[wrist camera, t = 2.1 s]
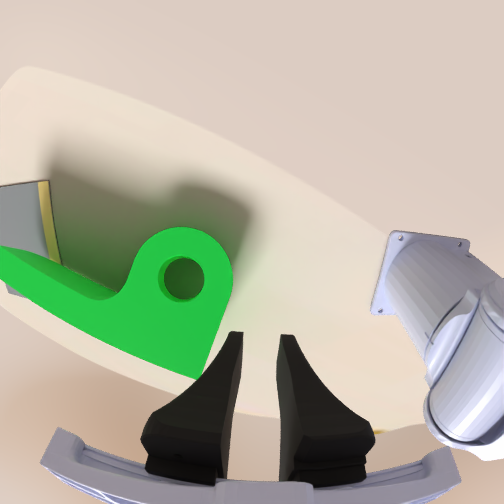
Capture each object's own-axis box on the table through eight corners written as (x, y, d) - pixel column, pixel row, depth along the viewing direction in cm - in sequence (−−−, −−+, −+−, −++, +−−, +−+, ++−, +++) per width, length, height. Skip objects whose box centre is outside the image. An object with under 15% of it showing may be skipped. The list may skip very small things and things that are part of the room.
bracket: (236, 257, 26) (248, 249, 19) (200, 353, 25) (200, 380, 18) (62, 187, 23) (28, 163, 16) (31, 274, 22) (-10, 272, 15)
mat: (49, 180, 20) (48, 180, 20) (74, 309, 25) (73, 309, 25) (-15, 189, 20) (-15, 189, 20) (9, 292, 25) (8, 293, 25)
